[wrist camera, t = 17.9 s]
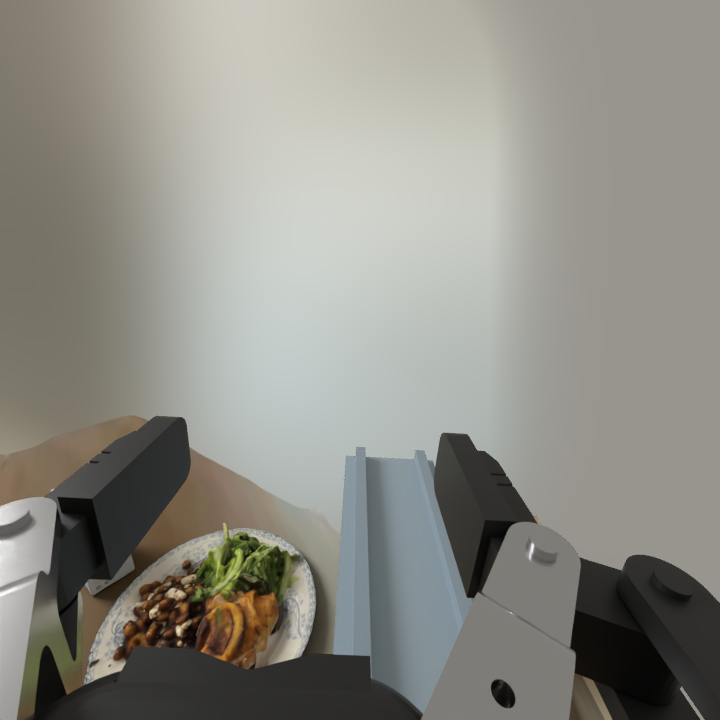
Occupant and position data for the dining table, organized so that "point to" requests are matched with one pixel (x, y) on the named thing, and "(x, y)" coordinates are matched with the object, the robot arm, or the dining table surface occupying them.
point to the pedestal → (397, 575)
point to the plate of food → (214, 603)
